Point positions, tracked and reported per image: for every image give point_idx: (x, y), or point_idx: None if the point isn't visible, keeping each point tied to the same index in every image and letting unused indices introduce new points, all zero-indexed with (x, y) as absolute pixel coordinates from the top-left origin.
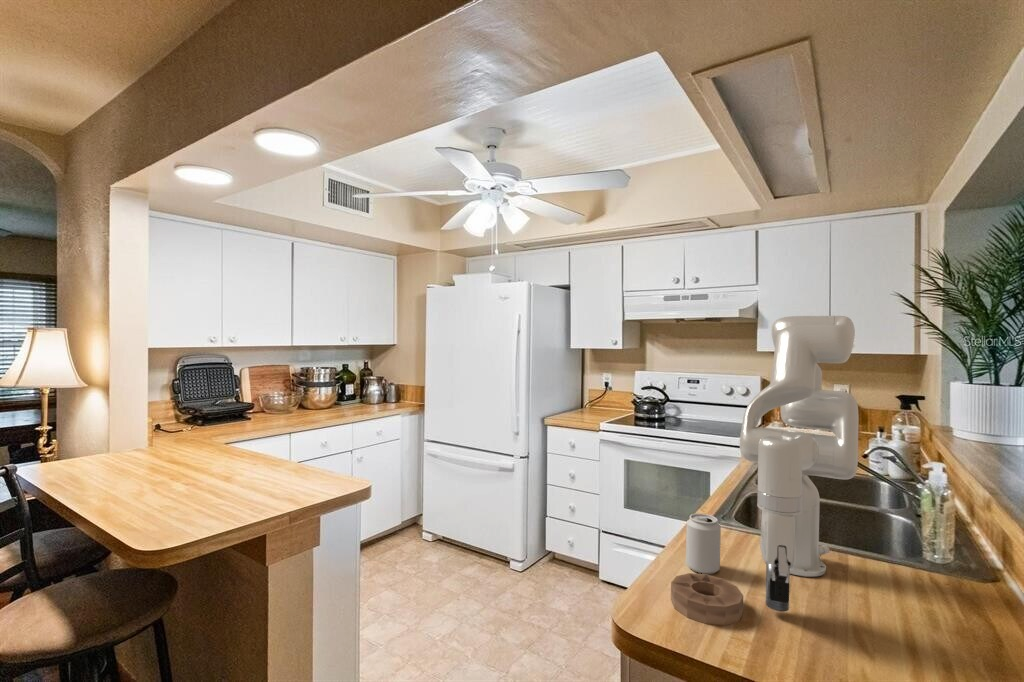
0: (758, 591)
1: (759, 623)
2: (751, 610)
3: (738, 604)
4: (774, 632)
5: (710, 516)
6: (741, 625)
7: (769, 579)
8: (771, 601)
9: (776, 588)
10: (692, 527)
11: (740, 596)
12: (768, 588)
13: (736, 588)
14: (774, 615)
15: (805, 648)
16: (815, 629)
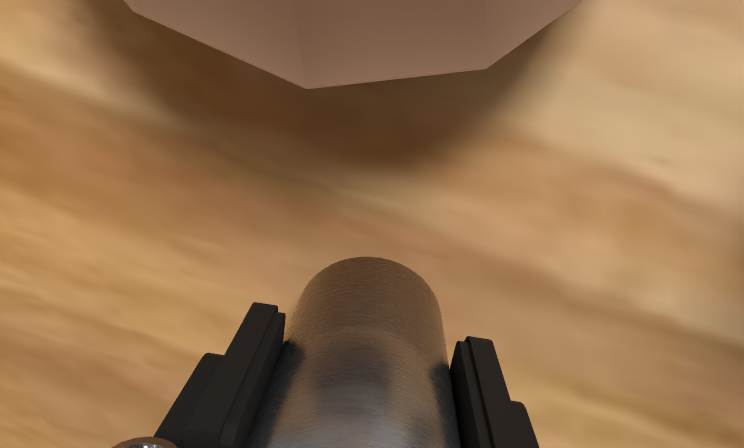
0: (676, 262)
1: (226, 158)
2: (389, 147)
3: (132, 2)
4: (149, 221)
5: None
6: (150, 24)
7: (286, 411)
8: (304, 301)
9: (170, 413)
10: None
11: (277, 55)
12: (319, 339)
13: (442, 51)
14: None
15: (50, 330)
16: None
